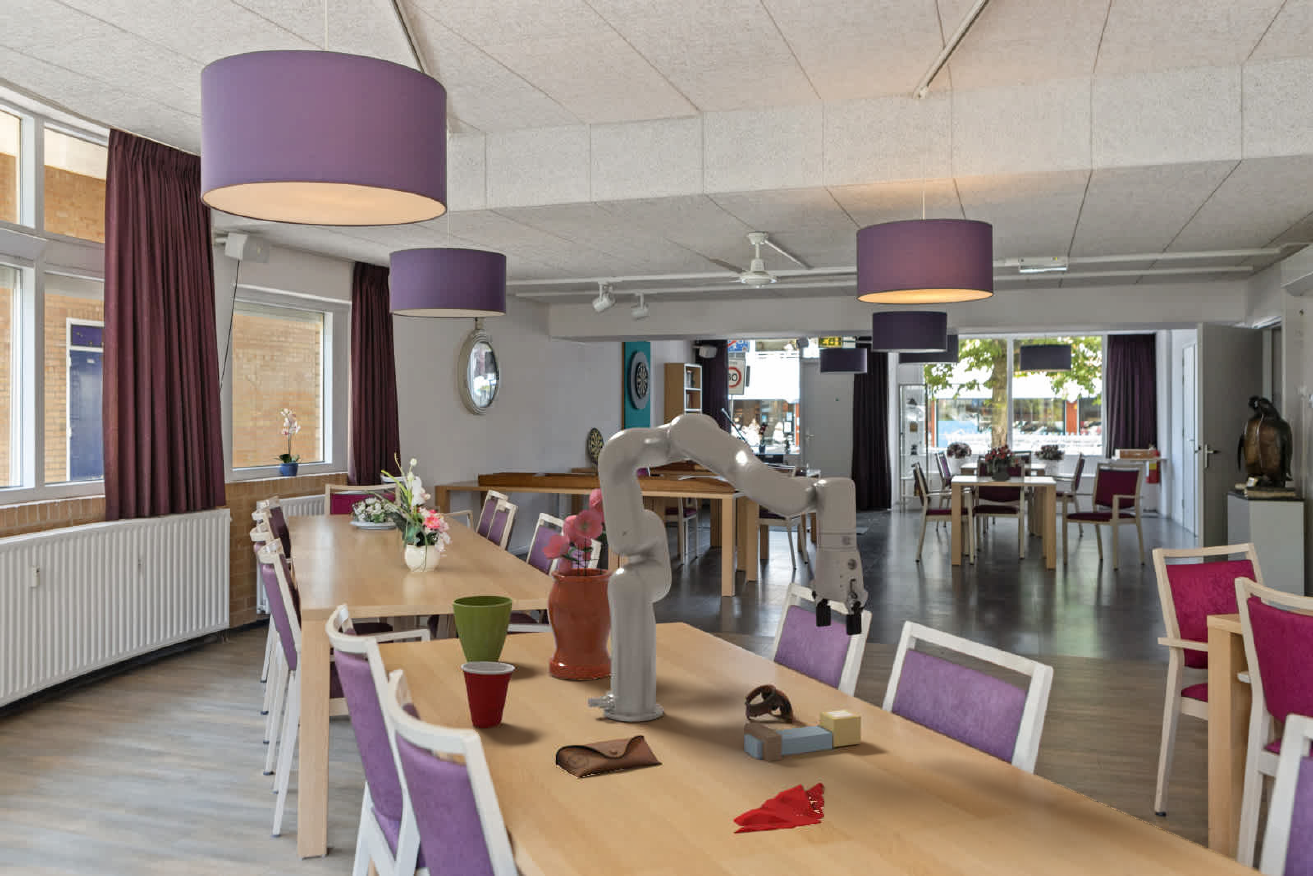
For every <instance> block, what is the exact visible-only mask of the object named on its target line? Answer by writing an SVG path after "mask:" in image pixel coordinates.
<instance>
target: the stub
mask: <svg viewBox="0 0 1313 876" xmlns="http://www.w3.org/2000/svg"><path fill="white" fill-rule="evenodd" d="M819 726H821V727H823V728H825V729H827V730H829V731H831V732H832V748H836V747H843V746H850V745H851V746H852V745H858V744H861V742H862V739H861V738H862V737H861V735H862V734H861V732H862V729H861V728H862V716H861V715H860V714H856V713H855V712H853V711H851V710H849V709H845V708H844V709H836V710H829V711H827V710H826V711H821V712H820V711H819Z"/></svg>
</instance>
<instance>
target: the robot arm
mask: <svg viewBox="0 0 1313 876" xmlns="http://www.w3.org/2000/svg"><path fill="white" fill-rule="evenodd" d="M687 459H689V460H691V461H693V462H694V463H696V464H698V465H700V466H702V467H703V468H705V469H706V470H709V471H710V472H712V473H714V474H715V475H717V476H718V477H721V478H722V479H723V480H725V481H727V482H728V483H729V484H730V485H731V486H732V487H733V488H735V489H736V490H737V491H738V492H740V493H741V494H742V495H744V496H745V497H747V498H748V499H749V500H751V501H753V502H755V504H758V505H759V506H761V507H763V508H765V509H767V510H768V511H770V512H772V513H774V514H776V515H778V516H780V517H784V518H796V517H798V516H802V515H805V514H806V515H807V514H811V513H816V515H815V516H816V518H815V519H816V521H815V522H816V555H815V563H814V565H815V568H814V578H813V579H811V580H810V581H809V584H808V585H809V587H810V591H811V596H812V598H813V605H814V607H815V626H816V627H818V628H822V627H823V628H824V627H830V626H831V625H832V610H831V609H832V608H831V604H830V601H831V602H837V603H841V604H844V606H845V609H846V611H847V613H846V614H845V629H846V630H845V632H846V635H847V636H855V635H862V633H863V630H862V629H863V627H862V625H863V624H862V618H863V617H862V614H863V613H864V608H866V605H867V601H868V597H869V593H868V591H867V590H866V589H865V588H864V578H863V568H862V567H863V566H862V561H861V560H862V559H861V556H860V552H859V549H857V516H856V515H857V514H856V513H857V512H856V511H857V510H856V509H857V508H856V506H857V505H856V504H857V503H856V484H855V482H854V480H852V479H851V478H849V477H823V478H818V477H809V476H801V475H799V476H791V477H790V476H787V475H786V474H784V473H782V472H781V471H779V470H776V469H775V468H774V467H771V466H770V465H768V464H767V463H765V462H764V461H762V460H761V459H760V458H759V457H757V456H756V454H755V453H754V452H753V449H752V447H751V446H750V445H749V443H747V442H746V441H743V440H742V439H740V438H738V437H737V436H735V435H733V434H731V433H729V432H727V431H726V430H724V429H722V428H720V426H719V423H717V421H716V420H715V419H714V418H713V417H712V416H710V415H707V414H704V413H696V412H695V413H690V412H688V413H681V414H679V415H678V416H676V417H675V418H674V419H672V421H670V422H669V423H666V424H663V425H658V426H654V427H632V428H631V427H630V428H626V429H622V430H620V431H618V432H617V433H615V434H614V435H613V436H611V437H610V438H609V439H608V440H607V441H605V444H603V447H602V448H601V450H600V453H599V456H598V462H597V471H598V472H597V473H598V480H599V486H600V489H601V493H602V501H603V511H604V518H605V523H604V524H605V531H606V535H607V537H606V540H607V541H608V543H607V545H608V547H609V549H610V551H612V553H613V554H614V555H616V556H618V557H623V558H628V562H629V563H627V564H624V565H621V566H619V567H618V568H617V569H616V570H614V572H612V576H611V578H610V579H609V583H608V589H607V594H608V602H609V608H610V617H611V631H610V656H611V675H610V690H606V691H605V692H606V693H605V694H603V695H601V696H600V697H597V696H595V697H589V698H588V699H587V704H588V705H587V706H588V707H589V708H596V707H597V708H598V709H599V710H602V711H603V712H602V713H603V715H604V716H605V717H607V718H608V719H610V720H613V721H620V722H631V723H632V722H635V723H636V722H647V721H653V720H655V719H659V718H660V717H662V716H663V714H664V708H663V706H662V705H661V704H660V703H657V702H656V701H657V700H656V699H657V695H656V694H657V692H656V691H657V624H656V618H655V613H654V607H653V606H654V604H653V603H655V602H658V601H660V600H662V599H663V598H665V596H667V594H668V593H669V591H670V589H671V586H672V581H673V580H672V566H671V559H670V551H669V545H668V538H667V537H668V535H667V531H666V528H665V525H664V522H663V521H662V519H661V517H660V516H659V515H657V513H655V512H654V511H652V510H650V509H646V508H645V506H644V502H643V501H644V500H643V491H642V487H641V484H640V481H639V479H638V475H637V471H638V470H640V469H645V468H646V469H647V468H648V469H649V468H656V467H661V466H665V465H669V464H672V463H677V462H679V461H683V460H687ZM607 541H606V542H607ZM852 604H853V605H852Z"/></svg>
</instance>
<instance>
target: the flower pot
mask: <svg viewBox="0 0 1313 876" xmlns="http://www.w3.org/2000/svg"><path fill="white" fill-rule="evenodd" d="M452 609H453V615H454V620H455V626H456V631H457V635H458V639H459V642H460V646H461V649H462V651H463V655H464V657H465V660H466V663H471V662H497V663H499V660H500V657H501V655H502V652H503V649H504V645H505V642H506V638H507V635H508V632H509V631H508V630H509V627H510V626H509V625H510V622H511V621H510V620H511V614H512V609H513V598H510V597H507V596H502V595H473V596H472V595H471V596H463V597H458V598H456V599H454V600H453V601H452Z"/></svg>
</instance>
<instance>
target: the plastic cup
mask: <svg viewBox="0 0 1313 876" xmlns="http://www.w3.org/2000/svg"><path fill="white" fill-rule="evenodd" d="M460 668H461V670H462V673H463V678H464V683H465V689H466V694H467V695H466V696H467V701H468V702H467V703H468V709H469V710H470V711H469V712H470V713H469V714H470V718H471V719H470V720H471V723H472V726H473V727H475V728H480V729H491V728H496V727H497V725H498V726H500V725H501V724H502V720H503V714H504V708H505V705H506V700H507V694H508V688H509V684H510V680H511V677H512V674H513V672H514V671H515V669H516V668H515V666H514V665H512V664H509V663H504V662H498V663H497V662H471V663H468V662H466V663H463V664H461V665H460ZM500 723H501V724H500ZM499 724H500V725H499ZM495 726H496V727H495ZM490 727H491V728H490Z"/></svg>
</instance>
